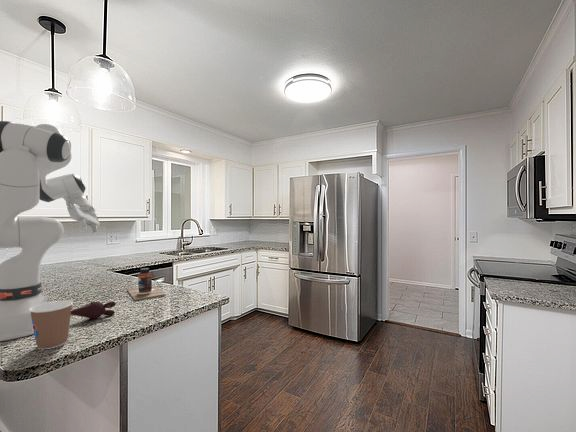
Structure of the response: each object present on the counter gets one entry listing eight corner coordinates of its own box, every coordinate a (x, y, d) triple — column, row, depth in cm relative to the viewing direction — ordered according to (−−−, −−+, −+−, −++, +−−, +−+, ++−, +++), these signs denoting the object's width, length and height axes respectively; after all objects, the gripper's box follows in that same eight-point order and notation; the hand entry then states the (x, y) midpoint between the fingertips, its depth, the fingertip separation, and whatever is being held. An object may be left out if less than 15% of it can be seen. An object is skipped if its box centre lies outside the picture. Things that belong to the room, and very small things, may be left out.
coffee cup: (37, 340, 89) (36, 303, 89) (77, 334, 93) (76, 298, 93) (23, 356, 79) (22, 313, 79) (68, 348, 84) (67, 308, 84)
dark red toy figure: (66, 309, 99) (116, 305, 108) (68, 299, 105) (115, 295, 114) (65, 327, 100) (114, 321, 109) (67, 316, 106) (114, 311, 115)
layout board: (164, 295, 136) (164, 293, 136) (134, 301, 128) (134, 299, 128) (154, 286, 154) (154, 284, 154) (127, 290, 146) (127, 289, 146)
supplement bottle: (153, 289, 144) (153, 267, 144) (149, 292, 139) (149, 269, 139) (141, 290, 144) (140, 267, 144) (136, 293, 138) (136, 269, 138)
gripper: (73, 197, 132) (86, 222, 129) (96, 210, 151) (107, 231, 149) (59, 203, 130) (71, 228, 128) (84, 215, 149) (95, 237, 147)
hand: (91, 230), depth 138 cm, fingers open, 8 cm apart
